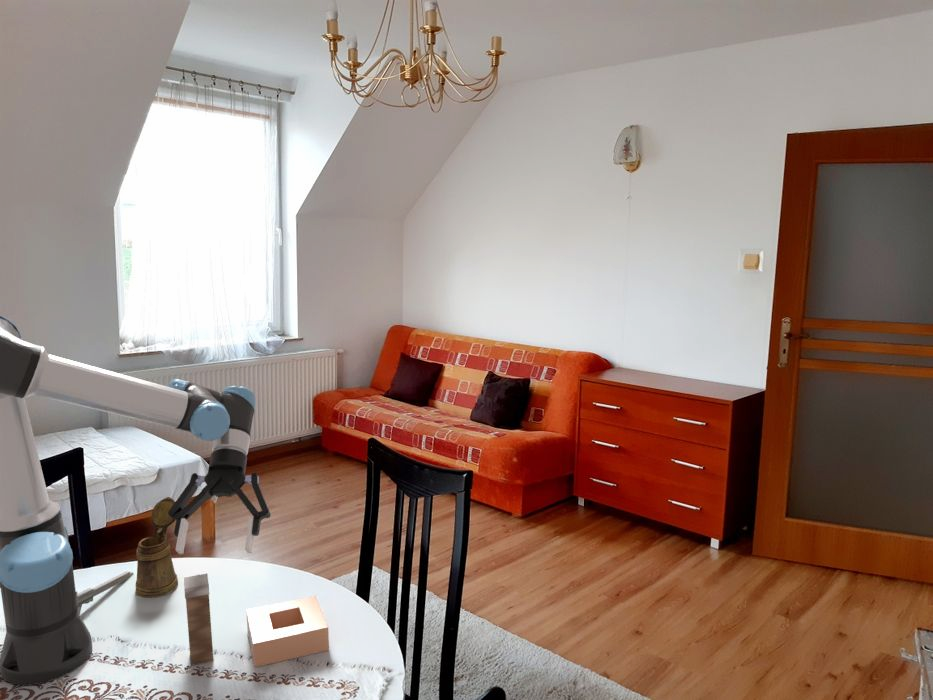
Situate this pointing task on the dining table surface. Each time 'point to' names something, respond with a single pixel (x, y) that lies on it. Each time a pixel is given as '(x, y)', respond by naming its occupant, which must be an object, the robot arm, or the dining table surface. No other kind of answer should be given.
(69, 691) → the dining table surface
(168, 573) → the wooden mug
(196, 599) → the silver-capped wooden peg
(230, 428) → the robot arm
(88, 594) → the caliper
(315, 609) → the terracotta holder
